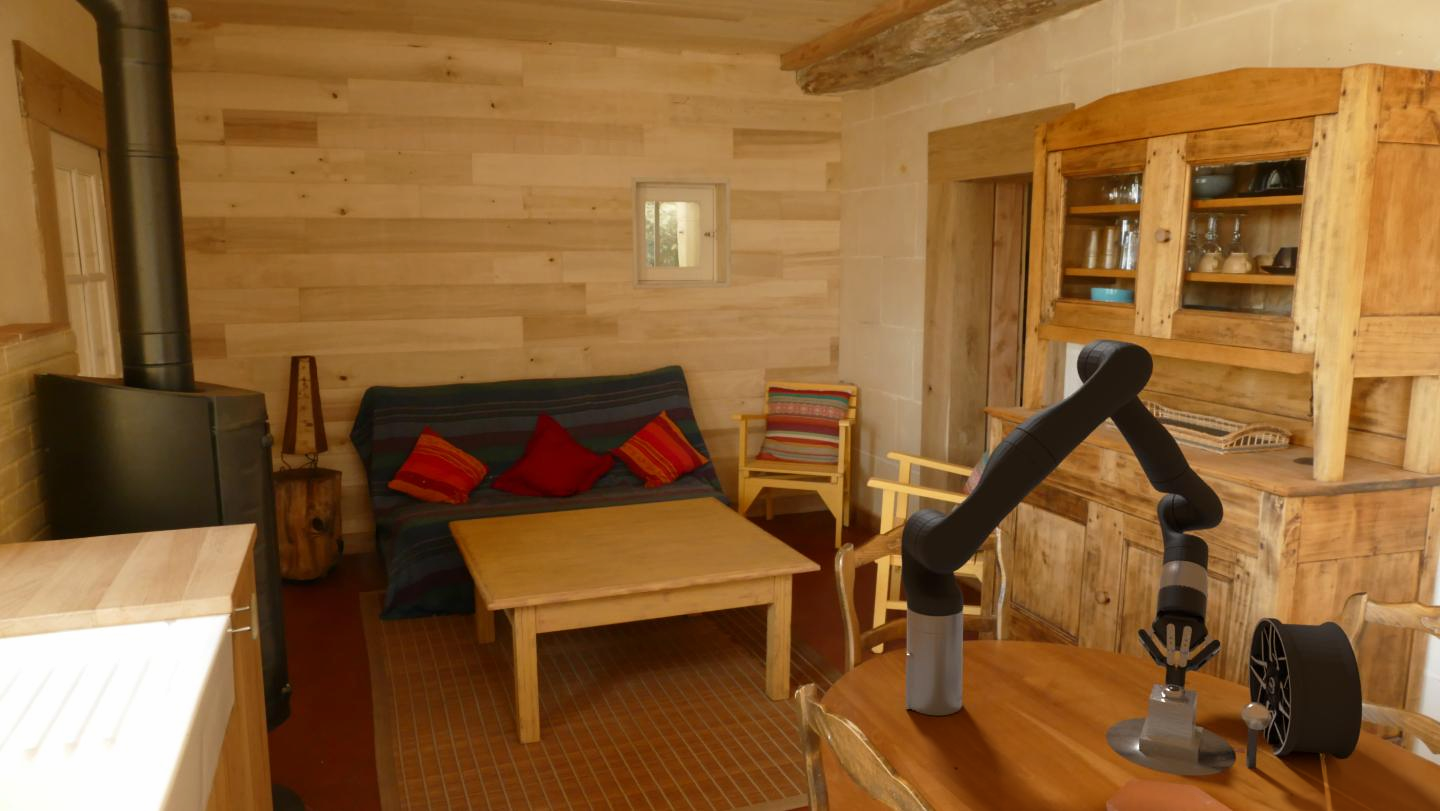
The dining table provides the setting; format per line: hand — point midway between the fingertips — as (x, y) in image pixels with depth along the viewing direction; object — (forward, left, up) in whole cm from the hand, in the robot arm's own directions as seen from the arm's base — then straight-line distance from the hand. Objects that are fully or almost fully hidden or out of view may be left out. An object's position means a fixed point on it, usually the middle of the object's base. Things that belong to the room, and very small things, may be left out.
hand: (1174, 691), depth 163 cm
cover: (-2, -10, -4) cm, 11 cm away
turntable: (-3, -10, -5) cm, 12 cm away
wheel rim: (+16, -6, -6) cm, 18 cm away
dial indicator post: (+7, -15, -5) cm, 18 cm away
